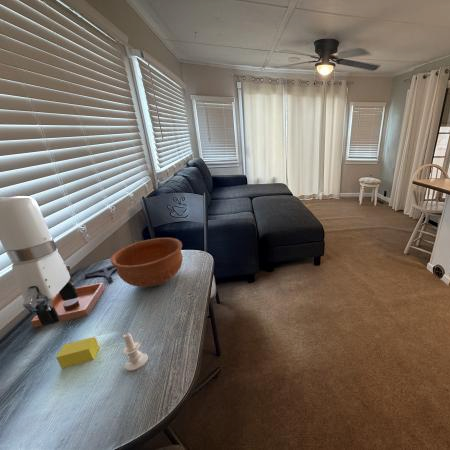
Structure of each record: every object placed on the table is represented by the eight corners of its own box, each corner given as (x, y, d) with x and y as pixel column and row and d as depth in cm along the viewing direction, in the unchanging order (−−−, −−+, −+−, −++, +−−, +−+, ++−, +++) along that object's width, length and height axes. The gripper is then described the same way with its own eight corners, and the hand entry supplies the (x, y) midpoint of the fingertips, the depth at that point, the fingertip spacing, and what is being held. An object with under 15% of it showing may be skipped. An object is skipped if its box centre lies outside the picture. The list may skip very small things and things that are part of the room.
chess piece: (130, 356, 67) (119, 327, 63) (150, 352, 68) (141, 324, 64) (121, 373, 62) (109, 343, 58) (143, 369, 63) (133, 339, 59)
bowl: (185, 261, 117) (179, 233, 112) (192, 287, 97) (184, 254, 91) (124, 276, 106) (114, 245, 100) (117, 309, 85) (104, 273, 80)
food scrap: (62, 312, 84) (60, 307, 83) (68, 305, 87) (66, 300, 87) (76, 309, 85) (74, 304, 84) (81, 302, 89) (79, 297, 88)
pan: (34, 328, 77) (30, 321, 76) (61, 297, 92) (58, 290, 91) (88, 316, 82) (85, 309, 81) (105, 288, 97) (103, 282, 96)
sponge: (61, 368, 64) (55, 357, 62) (69, 355, 68) (64, 344, 66) (93, 359, 66) (88, 348, 65) (99, 347, 70) (95, 336, 69)
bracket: (89, 291, 96) (87, 285, 95) (85, 276, 106) (83, 271, 105) (131, 276, 105) (129, 271, 104) (123, 264, 115) (122, 259, 114)
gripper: (34, 239, 61) (60, 294, 67) (-20, 272, 46) (20, 339, 52) (71, 234, 64) (93, 287, 70) (31, 264, 49) (63, 329, 55)
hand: (62, 310), depth 61 cm, fingers open, 9 cm apart
